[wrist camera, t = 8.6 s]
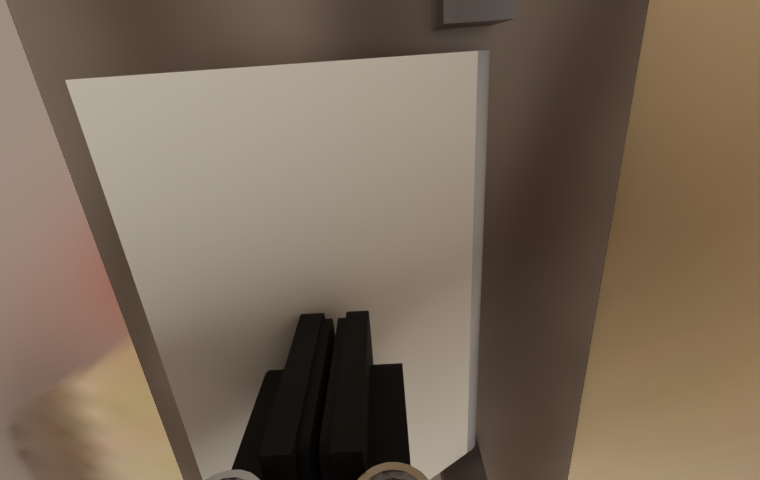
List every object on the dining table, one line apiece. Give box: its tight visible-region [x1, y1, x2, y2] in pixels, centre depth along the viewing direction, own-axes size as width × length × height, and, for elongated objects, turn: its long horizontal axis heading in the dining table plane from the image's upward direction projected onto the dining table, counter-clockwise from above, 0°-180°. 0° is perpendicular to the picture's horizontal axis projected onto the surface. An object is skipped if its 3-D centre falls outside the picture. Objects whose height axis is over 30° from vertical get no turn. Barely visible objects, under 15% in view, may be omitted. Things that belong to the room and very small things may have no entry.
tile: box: [65, 50, 490, 480], centre depth 12 cm, size 9×14×1 cm
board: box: [6, 0, 649, 480], centre depth 14 cm, size 17×22×3 cm
